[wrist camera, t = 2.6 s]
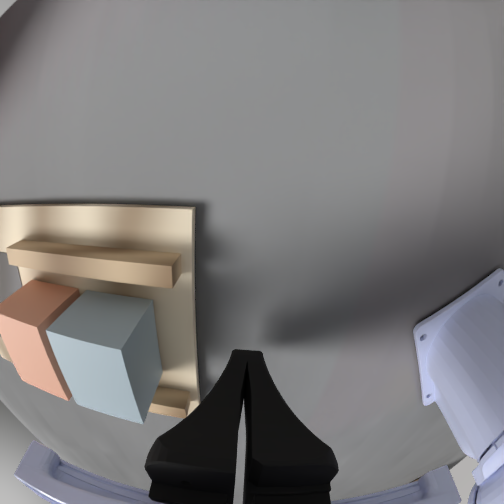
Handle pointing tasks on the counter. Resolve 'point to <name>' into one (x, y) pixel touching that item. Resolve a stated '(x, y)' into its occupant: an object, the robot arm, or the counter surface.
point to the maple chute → (115, 272)
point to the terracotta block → (36, 333)
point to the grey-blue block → (109, 353)
